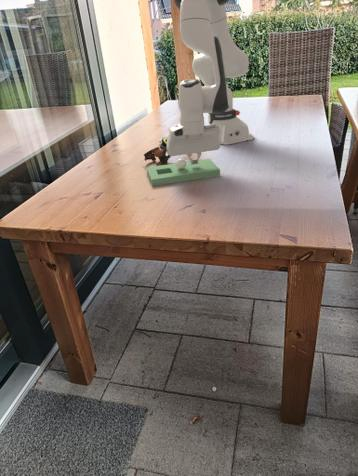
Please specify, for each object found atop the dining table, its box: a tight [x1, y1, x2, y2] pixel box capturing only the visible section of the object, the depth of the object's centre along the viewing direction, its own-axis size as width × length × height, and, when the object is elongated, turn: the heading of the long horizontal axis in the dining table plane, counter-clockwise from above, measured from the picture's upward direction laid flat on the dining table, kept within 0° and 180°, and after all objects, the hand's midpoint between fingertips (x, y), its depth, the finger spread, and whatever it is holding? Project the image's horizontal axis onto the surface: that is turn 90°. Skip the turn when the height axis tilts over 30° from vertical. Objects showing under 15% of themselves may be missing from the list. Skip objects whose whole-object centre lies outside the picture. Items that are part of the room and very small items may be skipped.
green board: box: [146, 158, 221, 187], centre depth 146 cm, size 26×14×2 cm, turn 102°
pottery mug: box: [143, 146, 172, 166], centre depth 159 cm, size 12×10×8 cm
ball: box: [175, 158, 187, 169], centre depth 144 cm, size 4×4×4 cm
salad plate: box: [158, 136, 168, 150], centre depth 181 cm, size 19×18×5 cm
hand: (194, 163), depth 145 cm, fingers closed
